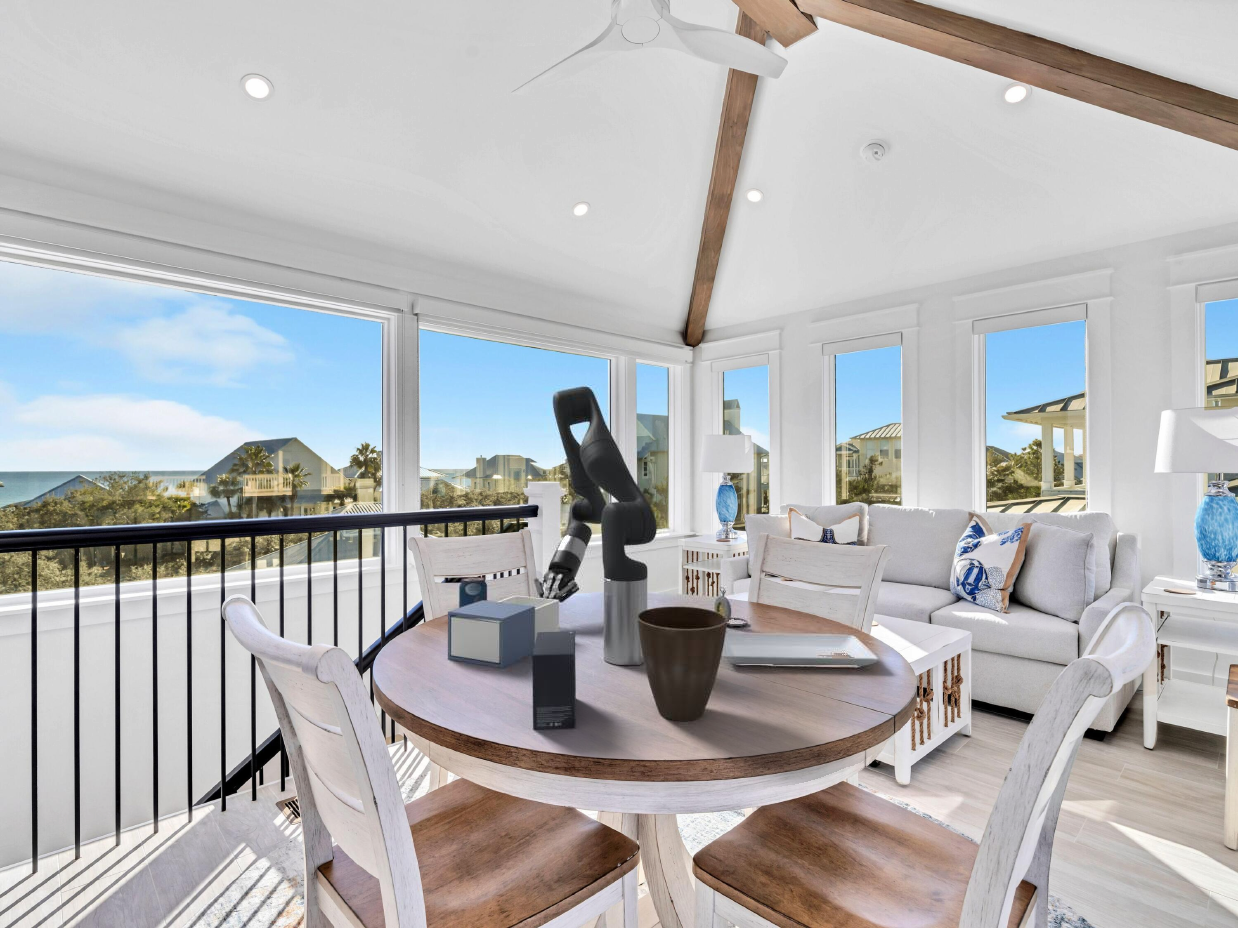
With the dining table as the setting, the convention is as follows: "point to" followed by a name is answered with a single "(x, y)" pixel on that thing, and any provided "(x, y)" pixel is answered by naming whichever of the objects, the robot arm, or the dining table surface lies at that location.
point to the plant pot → (681, 657)
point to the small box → (554, 681)
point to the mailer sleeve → (501, 629)
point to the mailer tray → (498, 629)
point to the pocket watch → (726, 609)
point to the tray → (795, 649)
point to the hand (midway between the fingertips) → (543, 613)
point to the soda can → (472, 591)
